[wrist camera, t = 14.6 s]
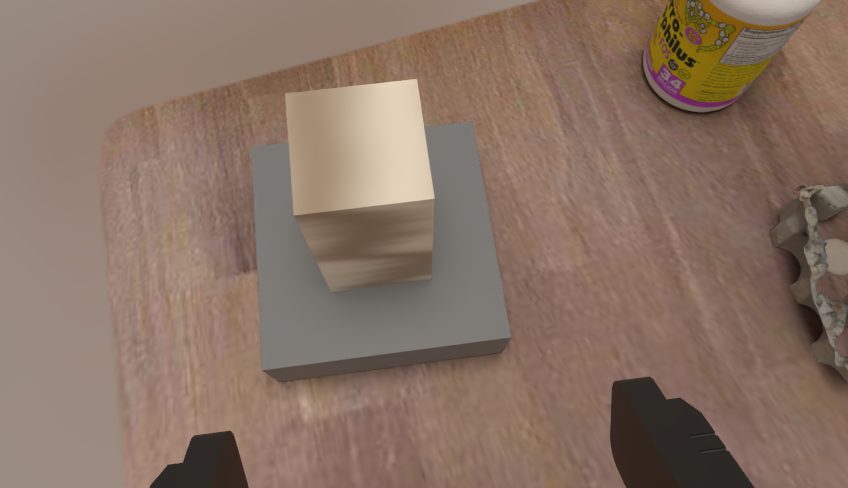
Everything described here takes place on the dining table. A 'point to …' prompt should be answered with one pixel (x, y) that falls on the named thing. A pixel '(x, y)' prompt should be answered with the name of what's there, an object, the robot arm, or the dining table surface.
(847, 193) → the egg carton
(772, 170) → the dining table surface
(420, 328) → the plinth
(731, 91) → the supplement bottle
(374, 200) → the cream block
